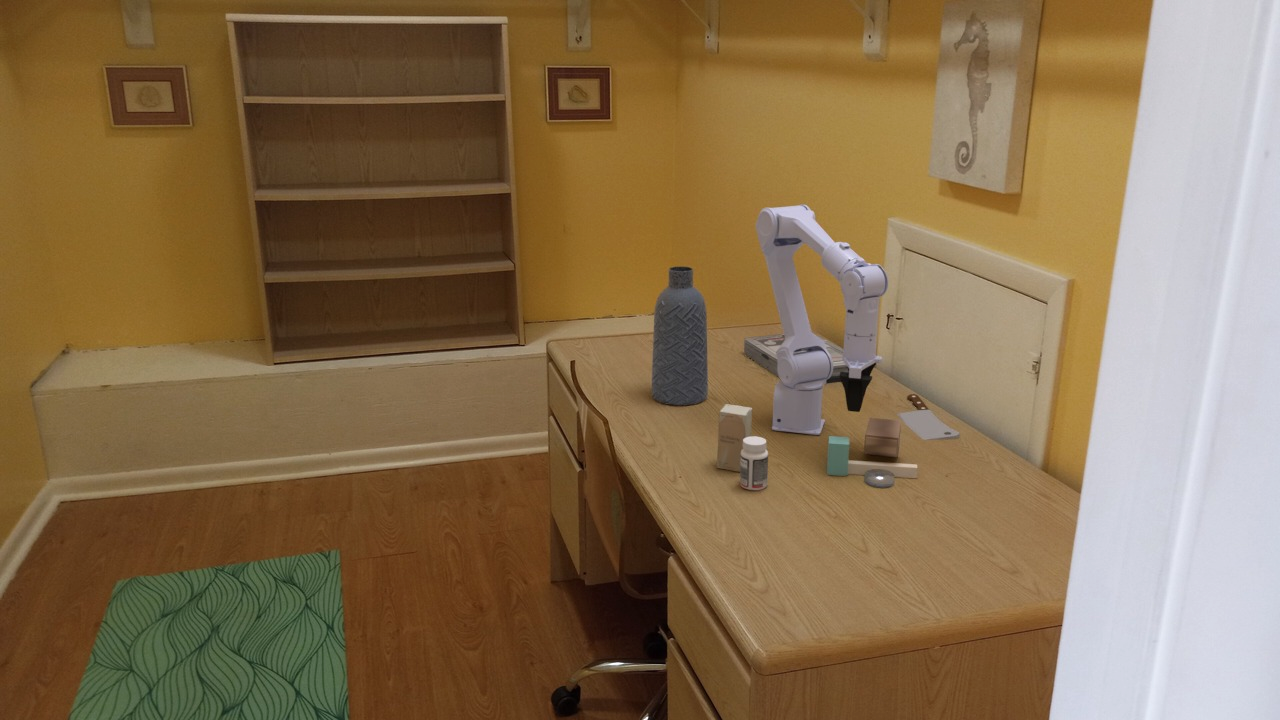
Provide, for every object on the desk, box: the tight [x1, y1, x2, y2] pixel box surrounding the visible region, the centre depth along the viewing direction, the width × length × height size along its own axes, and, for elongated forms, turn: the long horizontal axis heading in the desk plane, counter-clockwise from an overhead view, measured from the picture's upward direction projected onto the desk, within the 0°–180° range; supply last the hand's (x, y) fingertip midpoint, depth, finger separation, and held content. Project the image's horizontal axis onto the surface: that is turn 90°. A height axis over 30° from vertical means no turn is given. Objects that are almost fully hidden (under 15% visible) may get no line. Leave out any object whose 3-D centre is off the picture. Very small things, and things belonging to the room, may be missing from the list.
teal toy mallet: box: [826, 435, 919, 479], centre depth 177 cm, size 16×4×6 cm, turn 81°
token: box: [864, 469, 896, 489], centre depth 174 cm, size 5×5×2 cm
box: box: [716, 403, 753, 473], centre depth 179 cm, size 5×4×11 cm
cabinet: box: [863, 417, 902, 459], centre depth 181 cm, size 6×9×7 cm, turn 163°
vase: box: [650, 266, 709, 406], centre depth 212 cm, size 12×12×28 cm
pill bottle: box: [739, 435, 769, 491], centre depth 172 cm, size 5×5×8 cm
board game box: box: [743, 332, 849, 385], centre depth 237 cm, size 18×27×4 cm
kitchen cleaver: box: [896, 393, 961, 441], centre depth 204 cm, size 24×1×10 cm
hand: (856, 403), depth 183 cm, fingers open, 7 cm apart
